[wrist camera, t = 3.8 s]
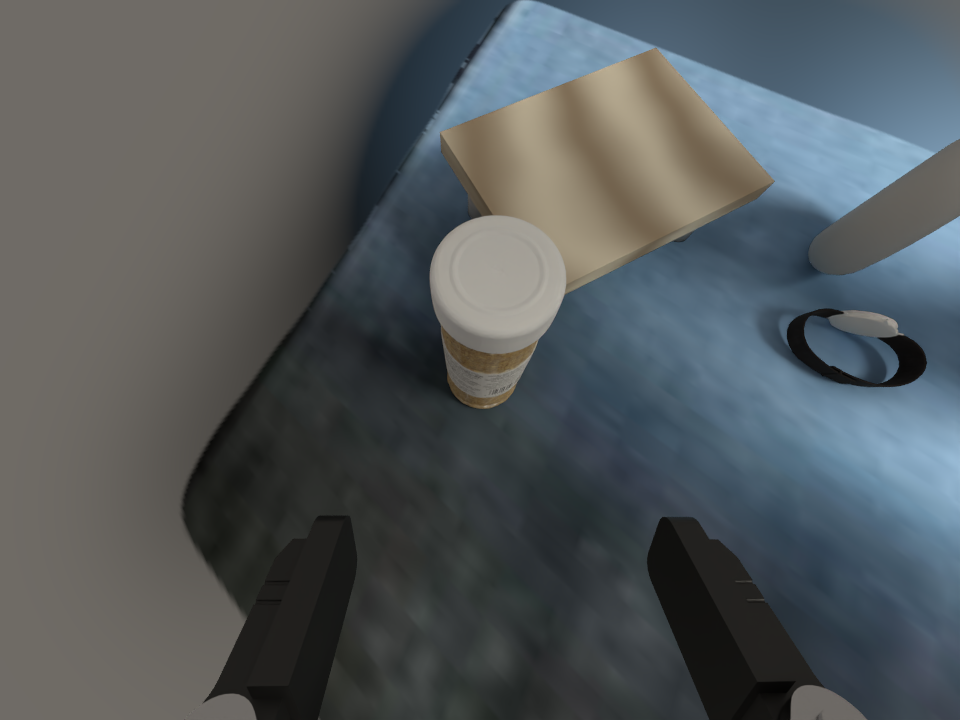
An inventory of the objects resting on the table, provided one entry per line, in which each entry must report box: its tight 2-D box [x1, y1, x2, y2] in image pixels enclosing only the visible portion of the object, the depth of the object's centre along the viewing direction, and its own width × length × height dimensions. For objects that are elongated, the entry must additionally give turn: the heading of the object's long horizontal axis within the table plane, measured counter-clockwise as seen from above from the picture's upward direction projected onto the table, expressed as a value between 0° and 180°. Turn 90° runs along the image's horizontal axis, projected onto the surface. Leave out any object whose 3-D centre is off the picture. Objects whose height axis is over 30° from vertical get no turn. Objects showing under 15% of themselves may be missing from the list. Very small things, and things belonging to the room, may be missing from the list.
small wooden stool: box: [440, 48, 775, 295], centre depth 27 cm, size 16×12×6 cm
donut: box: [808, 139, 960, 275], centre depth 25 cm, size 10×4×10 cm, turn 124°
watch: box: [787, 309, 927, 387], centre depth 26 cm, size 8×5×4 cm, turn 67°
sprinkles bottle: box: [430, 215, 566, 409], centre depth 19 cm, size 5×5×14 cm
